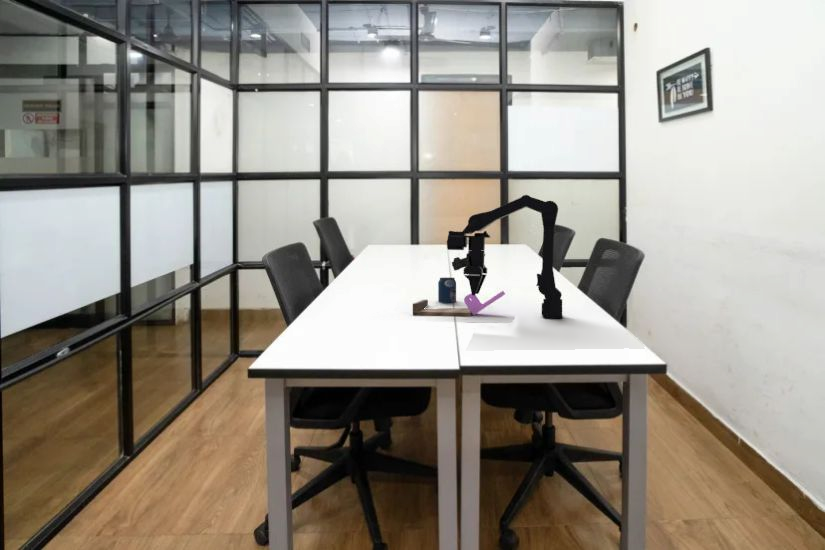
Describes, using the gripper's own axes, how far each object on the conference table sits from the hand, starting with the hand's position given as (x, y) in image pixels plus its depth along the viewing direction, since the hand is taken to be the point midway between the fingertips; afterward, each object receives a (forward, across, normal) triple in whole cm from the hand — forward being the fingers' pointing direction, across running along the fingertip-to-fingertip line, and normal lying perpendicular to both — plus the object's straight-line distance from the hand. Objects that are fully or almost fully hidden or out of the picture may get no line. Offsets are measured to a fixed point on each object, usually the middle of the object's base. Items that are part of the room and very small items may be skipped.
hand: (475, 294), depth 206 cm
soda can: (+7, -17, -13) cm, 23 cm away
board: (+7, 0, -11) cm, 13 cm away
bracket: (+3, +3, +6) cm, 7 cm away
